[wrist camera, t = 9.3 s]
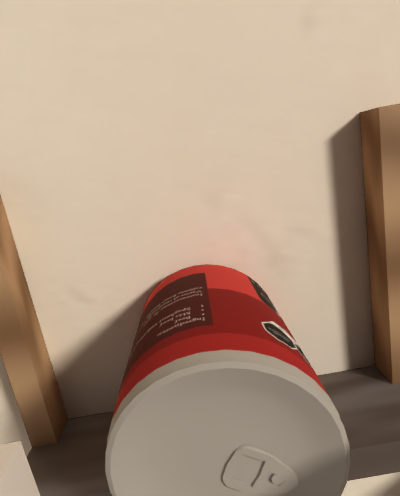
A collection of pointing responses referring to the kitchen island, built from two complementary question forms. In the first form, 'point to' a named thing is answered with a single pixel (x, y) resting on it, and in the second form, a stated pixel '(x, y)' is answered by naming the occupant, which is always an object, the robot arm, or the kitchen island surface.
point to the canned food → (221, 399)
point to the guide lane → (336, 384)
